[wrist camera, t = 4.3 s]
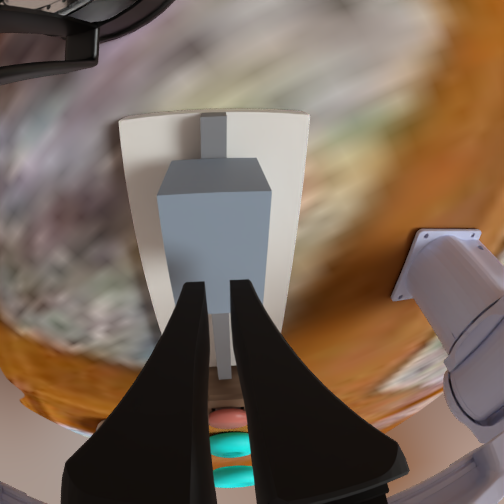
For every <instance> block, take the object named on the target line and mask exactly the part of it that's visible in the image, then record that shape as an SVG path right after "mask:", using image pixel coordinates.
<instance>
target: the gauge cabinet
mask: <svg viewBox="0 0 504 504" xmlns="http://www.w3.org/2000/svg"><path fill="white" fill-rule="evenodd" d="M231 375H232V379H221V380H219V377H218V369H217V366H216V367H209V385H208V425H209V414H210V413H212V412H214V411H216V410H215V408H232V407H241V410H245V405H244V400H243V395H242V390H241V385H240V381H239V376H238V371H237V366H236V365H234V366H231ZM245 411H246V410H245Z"/></svg>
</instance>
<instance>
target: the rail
mask: <svg viewBox="0 0 504 504" xmlns="http://www.w3.org/2000/svg"><path fill="white" fill-rule="evenodd" d="M309 123H310V115H309V114H307V113H305V112H303V111H295V110H279V109H245V108H230V109H197V110H181V111H168V112H157V113H148V114H140V115H132V116H126V117H124V118H123V119H121V120H119V131H120V141H121V150H122V158H123V165H124V172H125V179H126V186H127V192H128V198H129V203H130V209H131V214H132V220H133V225H134V230H135V235H136V239H137V244H138V248H139V253H140V257H141V261H142V266H143V270H144V274H145V278H146V282H147V285H148V289H149V293H150V297H151V300H152V304H153V307H154V311H155V314H156V318H157V321H158V324H159V328H160V331H161V334H163V332H164V330H165V327H166V325H167V323H168V321H169V319H170V317H171V315H172V313H173V310H174V308H175V302H174V297H173V293H172V288H171V282H170V277H169V272H168V266H167V261H166V255H165V249H164V243H163V237H162V231H161V224H160V217H159V210H158V203H157V194H158V191H159V189H160V186H161V184H162V181H163V179H164V177H165V174H166V172H167V170H168V168H169V165H170V163H171V161H174V160H190V159H212V158H257V160H258V162H259V164H260V166H261V168H262V171H263V173H264V175H265V177H266V179H267V181H268V184H269V186H270V188H271V190H272V198H271V211H270V225H269V238H268V250H267V263H266V275H265V287H264V299H263V306H264V308H265V310H266V311H267V313H268V315H269V316H270V318H271V319H272V321H273V323H274V324H275V326H276V327H277V329H278V330H279V332H280V333H281V331H282V325H283V319H284V313H285V307H286V301H287V295H288V289H289V282H290V276H291V269H292V263H293V256H294V249H295V242H296V235H297V227H298V220H299V212H300V204H301V196H302V188H303V180H304V171H305V162H306V153H307V143H308V133H309ZM208 319H209V335H210V363H209V367H216V366H217V369H218V377H219V380H221V379H232V375H231V366H234V365H236V361H235V356H234V351H233V343H232V331H231V314H230V313H219V314H208Z"/></svg>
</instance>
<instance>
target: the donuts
mask: <svg viewBox="0 0 504 504" xmlns="http://www.w3.org/2000/svg"><path fill="white" fill-rule="evenodd" d="M209 438H210V449H211V454H212V455H214V456H217V457H224V458H234V457H242V456H246V455H249V454H251V451H250V442H249V434H248V433H243V432H228V433H221V434H216V435H213V436H211V437H209ZM213 476H214V484H215V487H220V488H235V487H245V486H252V485H255V484H254V476H253V467H252V466H228V467H222V468H218V469H215V470H213Z"/></svg>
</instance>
